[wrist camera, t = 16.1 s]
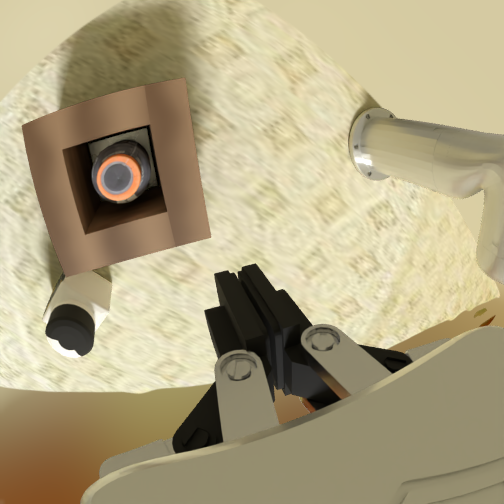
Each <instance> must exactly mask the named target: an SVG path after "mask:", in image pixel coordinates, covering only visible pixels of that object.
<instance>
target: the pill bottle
mask: <svg viewBox="0 0 504 504" xmlns="http://www.w3.org/2000/svg"><path fill="white" fill-rule="evenodd" d="M150 177H151V165H150V159H149V156H148V153H147V151H146V150H145V148H144V147H143V146H142V145H141V144H140V143H138V142H136V141H133V140H121V141H118V142H116V143H114V144H112V145H110V146H108V147H106V148H105V149H104V150H102V151H101V152H100V154H99V155H98V156H97V158H96V159H95V161H94V164H93V167H92V182H93V185H94V188H95V190H96V191H97V193H98V194H99V195H100V196H101V197H102V198H104V199H105V200H107V201H109V202H112V203H118V204H119V203H127V202H130V201H133V200H134V199H136V198H138V197H139V196H140V195H141V194H142V193H143V192H144V191H145V189H146V188H147V186H148V184H149V181H150Z"/></svg>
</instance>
